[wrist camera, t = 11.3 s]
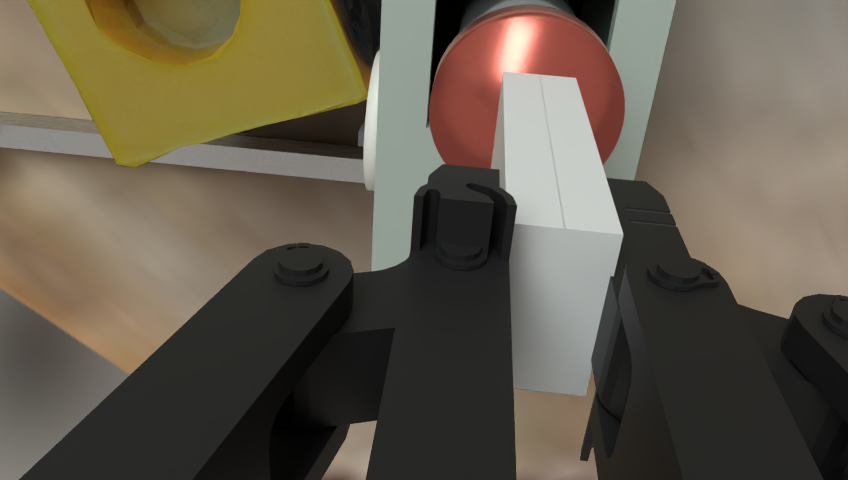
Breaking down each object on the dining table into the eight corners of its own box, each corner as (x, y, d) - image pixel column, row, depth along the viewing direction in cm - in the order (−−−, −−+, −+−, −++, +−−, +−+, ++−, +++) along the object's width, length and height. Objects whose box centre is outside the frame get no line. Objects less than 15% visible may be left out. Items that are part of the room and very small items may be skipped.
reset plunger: (442, 88, 25) (422, 192, 18) (454, -51, 23) (436, 7, 16) (573, 100, 25) (604, 210, 18) (598, -39, 22) (644, 26, 16)
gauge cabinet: (388, 139, 36) (344, 272, 25) (407, -259, 28) (354, -304, 17) (573, 157, 35) (606, 299, 25) (647, -241, 27) (740, -276, 17)
